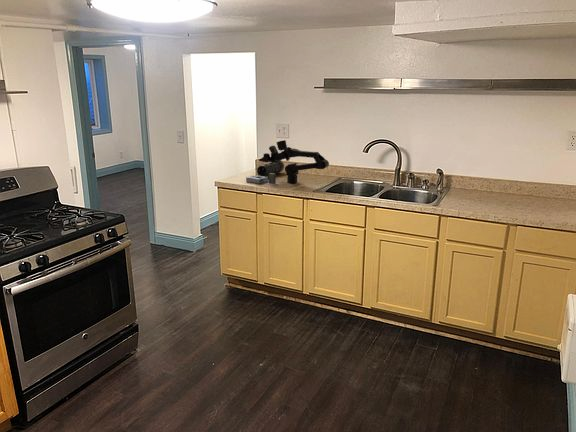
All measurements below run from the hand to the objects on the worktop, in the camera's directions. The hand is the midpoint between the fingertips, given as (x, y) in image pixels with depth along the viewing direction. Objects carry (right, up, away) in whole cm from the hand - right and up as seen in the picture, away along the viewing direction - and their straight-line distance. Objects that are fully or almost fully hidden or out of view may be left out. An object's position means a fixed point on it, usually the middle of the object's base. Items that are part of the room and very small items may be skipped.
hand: (262, 160), depth 349 cm
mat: (+7, -18, -9) cm, 21 cm away
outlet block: (-4, -17, -5) cm, 18 cm away
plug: (+7, -17, -9) cm, 21 cm away
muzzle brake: (+6, -9, +21) cm, 24 cm away
